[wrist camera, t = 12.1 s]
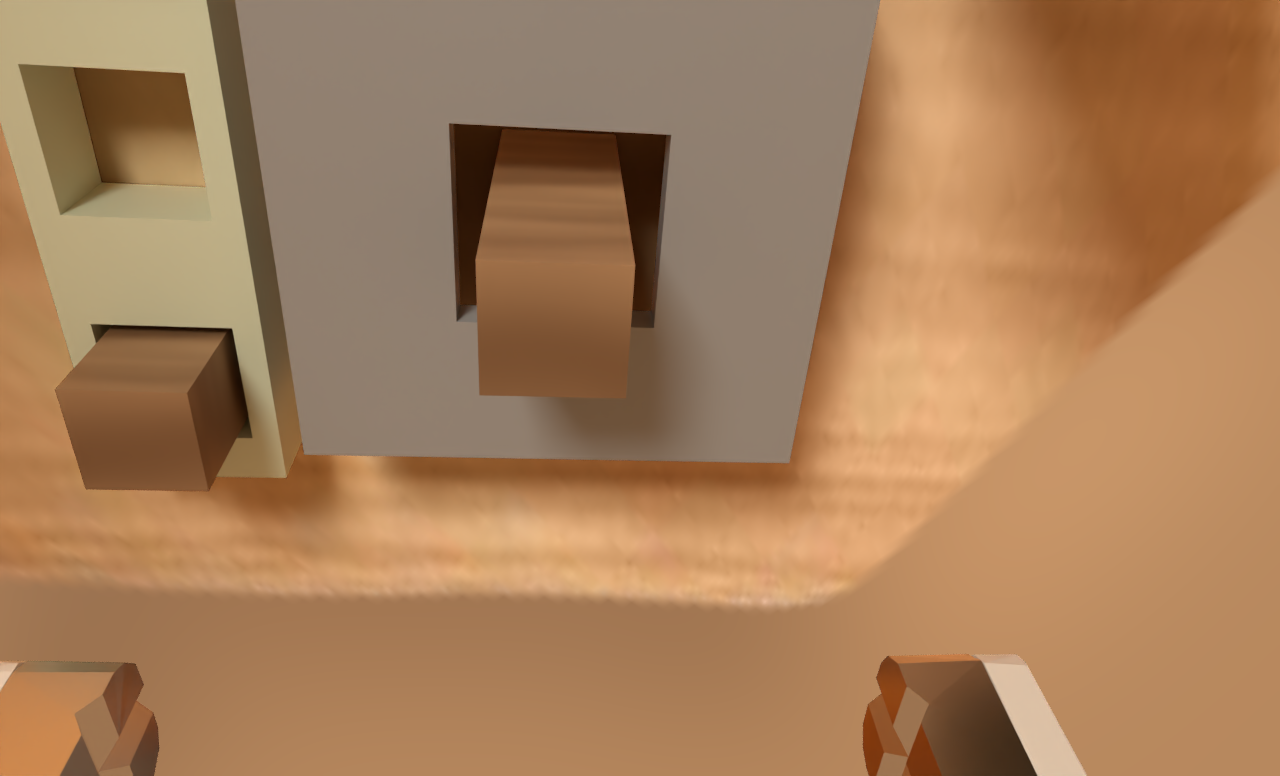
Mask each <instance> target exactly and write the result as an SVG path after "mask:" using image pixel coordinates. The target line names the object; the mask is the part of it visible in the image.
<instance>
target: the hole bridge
mask: <svg viewBox="0 0 1280 776" xmlns="http://www.w3.org/2000/svg"><path fill="white" fill-rule="evenodd" d="M235 3H236V10H237V17H238V23H239V30H240V36H241V43H242V49H243V56H244V63H245V69H246V76H247V82H248V89H249V96H250V102H251V109H252V115H253V122H254V128H255V135H256V142H257V148H258V155H259V161H260V168H261V174H262V181H263V188H264V194H265V201H266V207H267V214H268V220H269V227H270V234H271V240H272V247H273V253H274V260H275V266H276V273H277V280H278V286H279V293H280V299H281V306H282V312H283V319H284V326H285V332H286V339H287V345H288V352H289V358H290V365H291V372H292V378H293V385H294V391H295V398H296V404H297V411H298V418H299V424H300V431H301V437H302V444H303V450H304V455H349V456H406V457H463V458H520V459H577V460H634V461H691V462H748V463H789V462H790V457H791V452H792V447H793V441H794V436H795V431H796V426H797V421H798V416H799V411H800V406H801V401H802V396H803V391H804V385H805V380H806V375H807V370H808V365H809V360H810V355H811V350H812V345H813V340H814V335H815V329H816V324H817V319H818V314H819V309H820V304H821V299H822V294H823V289H824V284H825V279H826V274H827V268H828V263H829V258H830V253H831V248H832V243H833V238H834V233H835V228H836V223H837V218H838V212H839V207H840V202H841V197H842V192H843V187H844V182H845V177H846V172H847V167H848V162H849V156H850V151H851V146H852V141H853V136H854V131H855V126H856V121H857V116H858V111H859V106H860V100H861V95H862V90H863V85H864V80H865V75H866V70H867V65H868V60H869V55H870V50H871V45H872V39H873V34H874V29H875V24H876V19H877V14H878V9H879V4H880V0H235ZM454 124H472V125H491V126H510V127H530V128H549V129H568V130H588V131H607V132H626V133H646V134H665V135H666V145H665V157H664V168H663V180H662V191H661V203H660V214H659V225H658V237H657V248H656V260H655V271H654V283H653V294H652V306H651V311H638V310H632V319H631V333H630V347H629V361H628V375H627V389H626V398H579V397H531V396H483V395H479V365H478V330H477V305H460V280H459V253H458V225H457V197H456V170H455V142H454Z"/></svg>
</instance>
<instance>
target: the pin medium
mask: <svg viewBox="0 0 1280 776" xmlns="http://www.w3.org/2000/svg"><path fill="white" fill-rule="evenodd" d="M55 391H56V395H57V398H58V401H59V404H60V408H61V411H62V414H63V417H64V420H65V424H66V427H67V430H68V433H69V437H70V440H71V443H72V446H73V450H74V453H75V456H76V459H77V462H78V466H79V469H80V472H81V475H82V479H83V482H84V485H85V488H86V489H101V490H162V491H209V489H210V488H211V486H212V484H213V482H214V480H215V478H216V476H217V474H218V472H219V471H220V469H221V467H222V465H223V463H224V461H225V459H226V457H227V455H228V454H229V452H230V450H231V448H232V446H233V444H234V442H235V440H236V438H237V437H238V435H239V433H240V431H241V429H242V427H243V425H244V423H245V422H246V420H247V418H248V410H247V405H246V400H245V394H244V389H243V383H242V378H241V373H240V367H239V362H238V357H237V351H236V346H235V341H234V335H233V330H232V328H204V327H171V326H138V325H112V326H111V327H110V328H109V329H108V331H107V332H106V333H105V334H104V335H103V336H102V337H101V338H100V340H99V341H98V342H97V343H96V344H95V345H94V346H93V347H92V348H91V350H90V351H89V352H88V353H87V354H86V355H85V356H84V357H83V359H82V360H81V361H80V362H79V363H78V364H77V365H76V366H75V368H74V369H73V370H72V371H71V372H70V373H69V374H68V375H67V377H66V378H65V379H64V380H63V381H62V382H61V383H60V384H59V385H58V387H57V388H56V389H55Z"/></svg>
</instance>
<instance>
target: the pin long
mask: <svg viewBox="0 0 1280 776" xmlns="http://www.w3.org/2000/svg"><path fill="white" fill-rule="evenodd" d="M475 262H476V296H477V330H478V365H479V395H483V396H531V397H579V398H626V389H627V375H628V361H629V347H630V333H631V319H632V305H633V291H634V277H635V260H634V254H633V247H632V241H631V234H630V227H629V221H628V214H627V208H626V201H625V195H624V188H623V182H622V175H621V168H620V162H619V155H618V149H617V142H616V136H615V134H601V133H580V132H559V131H538V130H518V129H502V133H501V138H500V143H499V148H498V153H497V157H496V162H495V167H494V172H493V177H492V182H491V187H490V192H489V196H488V201H487V206H486V211H485V216H484V221H483V226H482V231H481V235H480V240H479V245H478V250H477V255H476V260H475Z"/></svg>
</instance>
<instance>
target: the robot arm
mask: <svg viewBox="0 0 1280 776" xmlns="http://www.w3.org/2000/svg"><path fill="white" fill-rule="evenodd" d="M876 678H877V681H878V684H879V687H880V690H881V693H882V694H880V695H879V696H878V697H876V698H875V699H874V700H873V701H871V702H870V703H869V704H868V707H867V710H866V714H865V718H864V722H863V751H864V756H865V762H866V768H867V771H868V774H869V776H1087V774H1086V772H1085V770H1084V769H1083V767H1082V765H1081V763H1080V761H1079V759H1078V757H1077V756H1076V754H1075V752H1074V750H1073V748H1072V747H1071V745H1070V743H1069V741H1068V739H1067V737H1066V736H1065V734H1064V732H1063V730H1062V728H1061V726H1060V725H1059V723H1058V721H1057V719H1056V717H1055V715H1054V714H1053V712H1052V710H1051V708H1050V706H1049V704H1048V703H1047V701H1046V699H1045V697H1044V695H1043V694H1042V692H1041V690H1040V688H1039V686H1038V684H1037V683H1036V681H1035V679H1034V677H1033V675H1032V673H1031V672H1030V670H1029V668H1028V666H1027V664H1026V662H1025V661H1024V660H1022V659H1021V658H1020V657H1019V656H1018V655H1016V654H1015V655H969V654H953V655H904V656H903V655H902V656H887V657H886V658H885V659H884V660H883V662H882V663H881V665H880V668H879V671H878V674H877V677H876ZM143 685H144V684H143V681H142V679H141V676H140V674H139V671H138V669H137V666H136V664H134V663H118V662H62V661H61V662H60V661H0V776H154V772H155V767H156V762H157V757H158V752H159V739H158V738H159V737H158V726H157V723H156V720H155V717H154V714H153V712H152V711H150V710H149V709H147V708H146V707H145V706H143V705H142V704H140V703H139V702H138V701H136V700H137V698H138V696H139V694H140V692H141V689H142V688H143Z"/></svg>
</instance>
